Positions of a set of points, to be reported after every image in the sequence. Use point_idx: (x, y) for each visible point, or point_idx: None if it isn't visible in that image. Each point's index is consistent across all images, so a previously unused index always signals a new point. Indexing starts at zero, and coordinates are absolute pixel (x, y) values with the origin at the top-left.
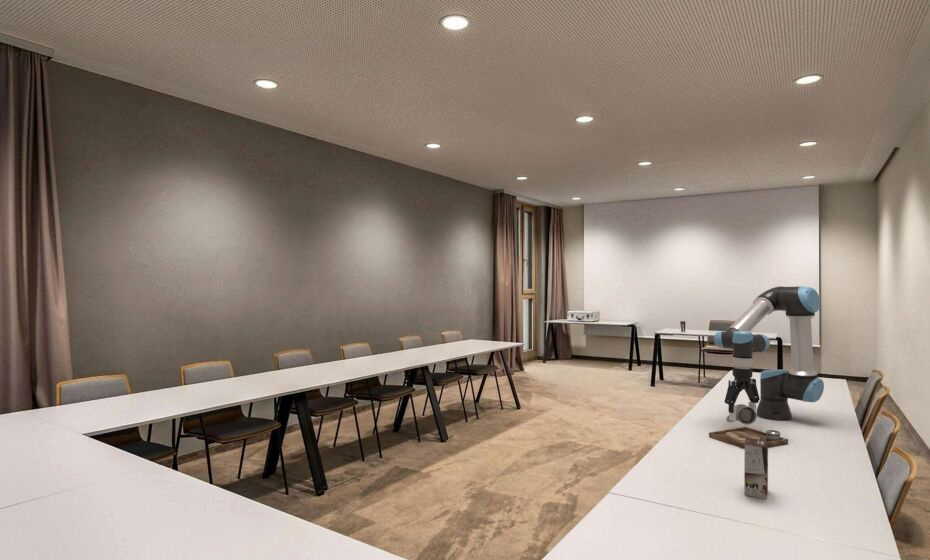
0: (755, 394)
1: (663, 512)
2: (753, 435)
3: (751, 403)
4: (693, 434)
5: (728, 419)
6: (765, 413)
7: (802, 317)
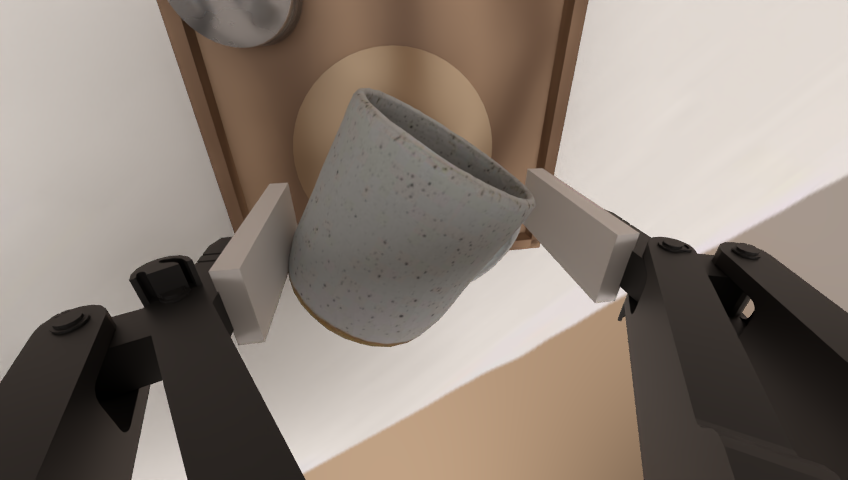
0: (81, 423)
1: None
2: (319, 139)
3: (256, 296)
4: (548, 284)
5: (517, 232)
6: None
7: None
